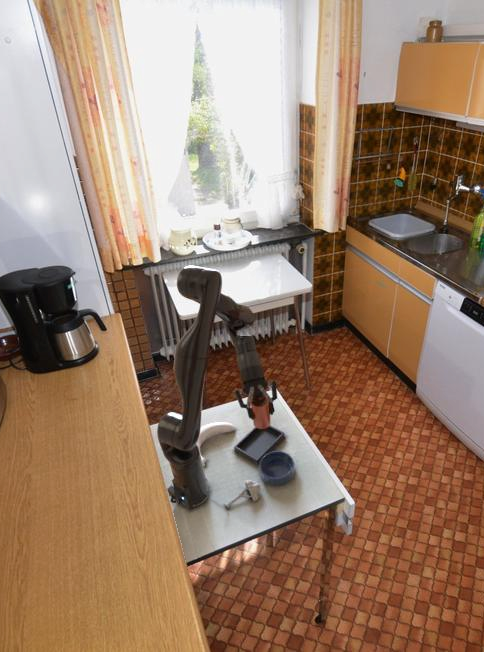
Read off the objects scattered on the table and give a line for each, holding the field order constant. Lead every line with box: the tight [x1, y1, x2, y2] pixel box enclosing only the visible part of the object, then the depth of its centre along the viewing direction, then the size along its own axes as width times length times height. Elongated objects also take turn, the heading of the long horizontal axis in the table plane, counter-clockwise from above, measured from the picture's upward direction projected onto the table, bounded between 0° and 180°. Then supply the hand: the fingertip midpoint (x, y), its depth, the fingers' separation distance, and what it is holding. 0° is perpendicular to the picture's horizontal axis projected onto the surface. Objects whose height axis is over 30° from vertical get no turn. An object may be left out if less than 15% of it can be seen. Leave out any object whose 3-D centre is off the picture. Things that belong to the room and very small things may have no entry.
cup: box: [251, 395, 272, 429], centre depth 142 cm, size 6×6×10 cm
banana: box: [196, 421, 236, 467], centre depth 156 cm, size 5×19×15 cm
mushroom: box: [224, 479, 261, 509], centre depth 136 cm, size 7×5×12 cm
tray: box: [233, 424, 286, 466], centre depth 155 cm, size 15×11×2 cm
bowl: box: [258, 450, 295, 487], centre depth 144 cm, size 11×11×4 cm
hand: (262, 417), depth 141 cm, fingers closed on cup, 6 cm apart
